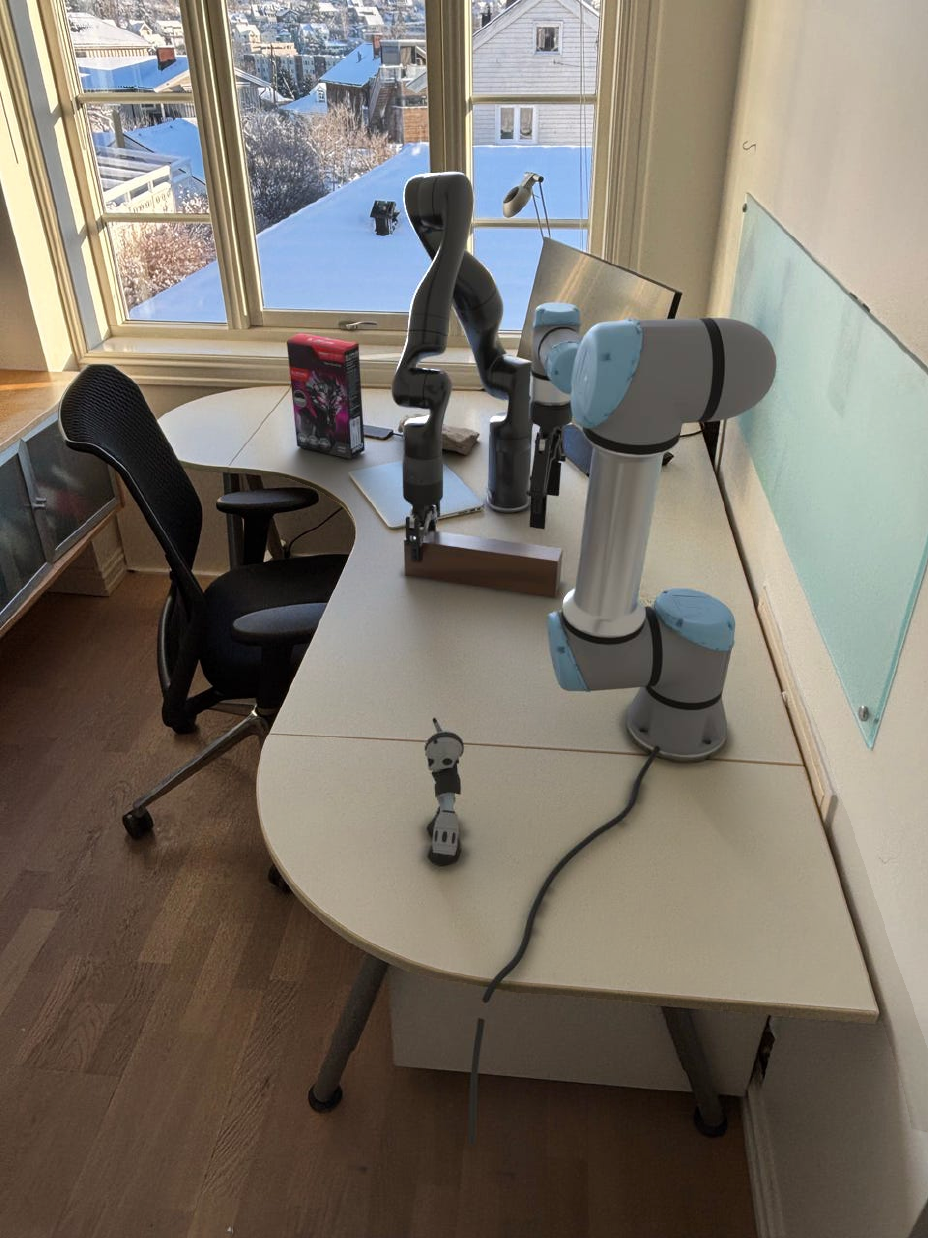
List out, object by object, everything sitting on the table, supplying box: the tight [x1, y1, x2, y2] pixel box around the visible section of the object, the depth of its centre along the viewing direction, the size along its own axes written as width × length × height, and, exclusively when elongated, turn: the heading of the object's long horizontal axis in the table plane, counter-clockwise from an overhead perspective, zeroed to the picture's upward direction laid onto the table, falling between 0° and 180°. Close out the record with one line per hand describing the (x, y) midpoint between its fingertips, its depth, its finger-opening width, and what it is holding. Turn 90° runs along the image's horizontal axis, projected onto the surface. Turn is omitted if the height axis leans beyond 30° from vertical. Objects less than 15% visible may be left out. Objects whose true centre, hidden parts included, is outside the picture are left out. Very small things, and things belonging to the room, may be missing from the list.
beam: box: [403, 530, 564, 599], centre depth 178 cm, size 5×30×8 cm, turn 75°
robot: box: [423, 717, 465, 867], centre depth 118 cm, size 20×5×20 cm, turn 3°
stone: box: [397, 413, 481, 455], centre depth 233 cm, size 21×15×6 cm
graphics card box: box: [286, 332, 366, 459], centre depth 224 cm, size 17×7×27 cm, turn 62°
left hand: (423, 551), depth 180 cm, fingers open, 8 cm apart
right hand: (544, 510), depth 168 cm, fingers open, 13 cm apart
